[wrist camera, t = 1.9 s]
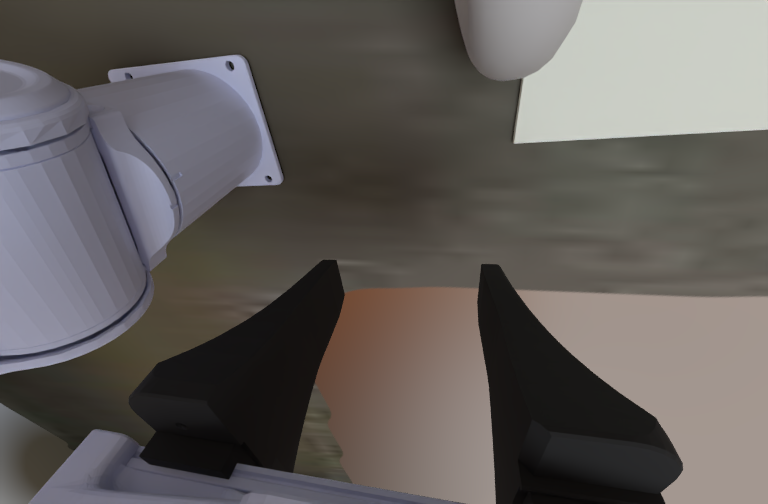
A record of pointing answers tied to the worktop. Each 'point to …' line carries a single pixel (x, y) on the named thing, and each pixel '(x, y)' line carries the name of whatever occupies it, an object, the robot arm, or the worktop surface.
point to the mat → (651, 72)
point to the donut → (514, 34)
